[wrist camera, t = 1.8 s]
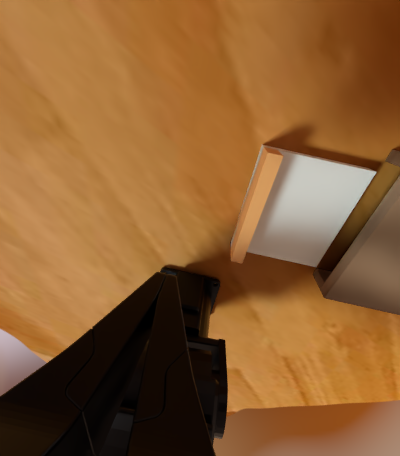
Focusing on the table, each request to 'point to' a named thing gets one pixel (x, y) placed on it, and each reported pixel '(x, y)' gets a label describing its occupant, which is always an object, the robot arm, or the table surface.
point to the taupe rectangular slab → (370, 259)
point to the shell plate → (296, 205)
